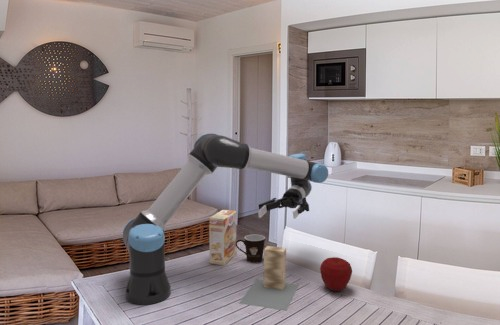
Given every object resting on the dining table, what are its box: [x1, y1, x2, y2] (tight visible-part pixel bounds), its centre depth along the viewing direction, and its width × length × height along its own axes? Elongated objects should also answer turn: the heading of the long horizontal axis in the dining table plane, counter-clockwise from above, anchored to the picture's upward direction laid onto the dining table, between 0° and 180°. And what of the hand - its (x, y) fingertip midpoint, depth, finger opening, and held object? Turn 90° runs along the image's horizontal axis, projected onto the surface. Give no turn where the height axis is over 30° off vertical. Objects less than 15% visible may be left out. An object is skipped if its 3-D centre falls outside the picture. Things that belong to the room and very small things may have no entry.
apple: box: [319, 256, 353, 292], centre depth 145 cm, size 11×11×12 cm
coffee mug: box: [236, 234, 266, 264], centre depth 173 cm, size 12×9×10 cm
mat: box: [238, 278, 300, 311], centre depth 141 cm, size 16×20×1 cm
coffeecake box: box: [208, 209, 237, 266], centre depth 174 cm, size 15×7×20 cm, turn 162°
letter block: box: [263, 245, 287, 290], centre depth 146 cm, size 7×4×14 cm, turn 72°
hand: (276, 214), depth 149 cm, fingers open, 13 cm apart
